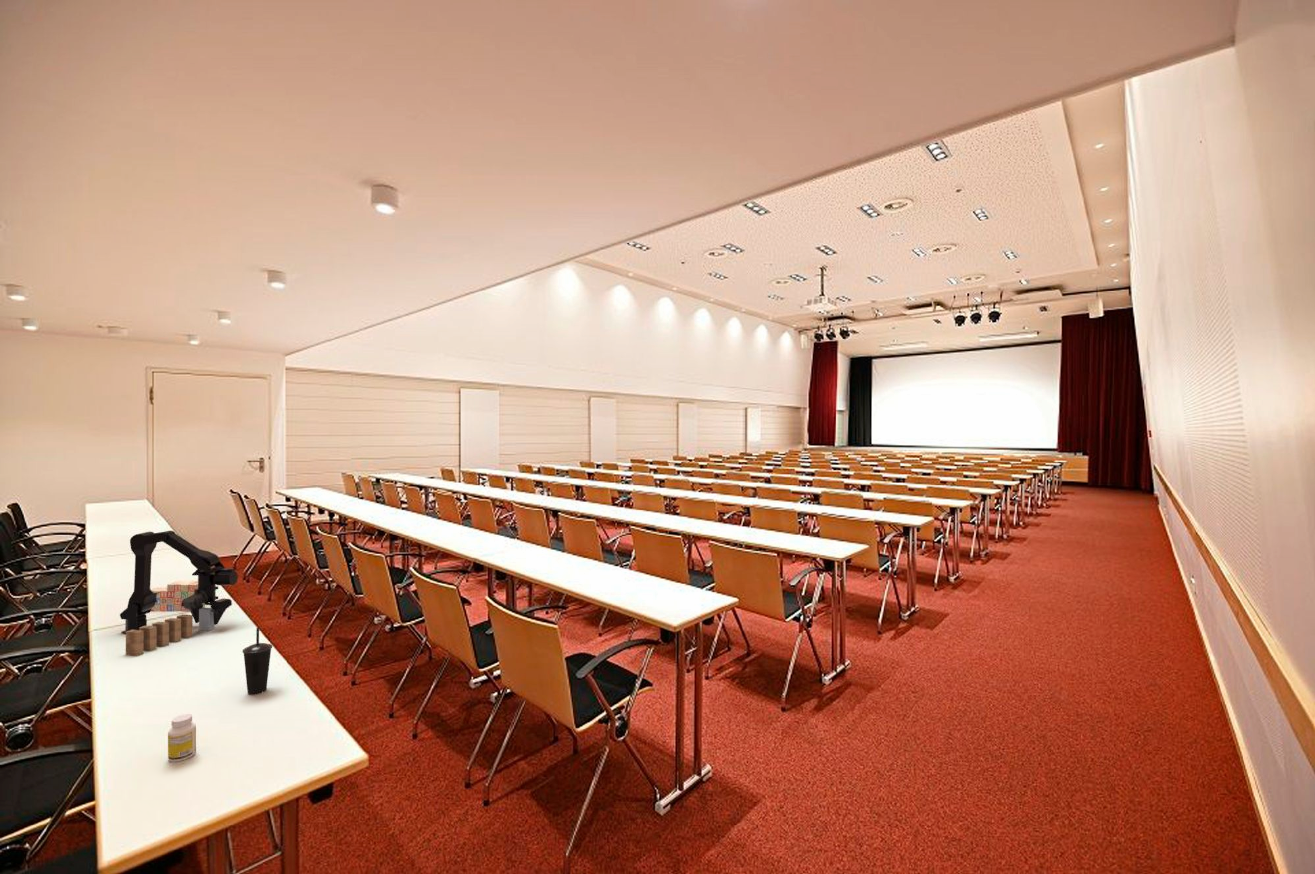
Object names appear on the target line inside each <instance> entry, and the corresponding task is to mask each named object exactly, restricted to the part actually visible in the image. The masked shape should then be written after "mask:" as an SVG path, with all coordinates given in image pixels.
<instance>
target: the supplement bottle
mask: <svg viewBox="0 0 1315 874" xmlns="http://www.w3.org/2000/svg"><path fill="white" fill-rule="evenodd" d="M170 725H171V727H170V728H169V729H168V731H167V751H168V752H167V759H168V761H169V762H173V763H176V762H181V761H185V760H187V759H190V758H191V757H193V756H194V755H195V754H196V753H197V726H196V724H195V723H194V722H193V715H192V713H184V714H180V715H177V716H175V717H173V718H172V719H171V724H170Z"/></svg>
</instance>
